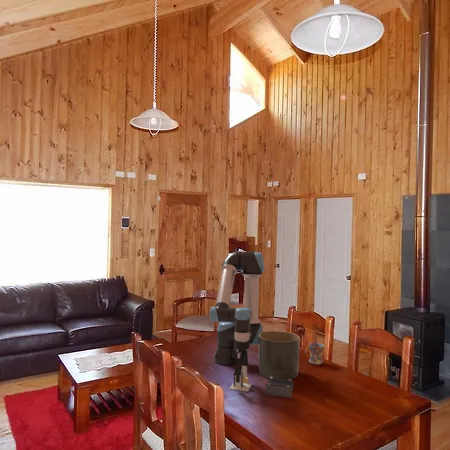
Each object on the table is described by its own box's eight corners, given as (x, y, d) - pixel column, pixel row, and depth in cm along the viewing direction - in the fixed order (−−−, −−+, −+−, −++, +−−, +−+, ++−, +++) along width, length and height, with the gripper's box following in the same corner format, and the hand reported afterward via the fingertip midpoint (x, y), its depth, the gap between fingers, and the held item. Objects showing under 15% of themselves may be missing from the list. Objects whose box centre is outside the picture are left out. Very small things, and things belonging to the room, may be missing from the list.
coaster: (229, 389, 191) (229, 388, 191) (234, 382, 200) (234, 381, 200) (248, 391, 189) (248, 390, 189) (251, 384, 198) (251, 383, 198)
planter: (303, 370, 220) (304, 334, 220) (292, 384, 200) (293, 344, 200) (265, 363, 229) (266, 329, 230) (251, 376, 209) (252, 338, 209)
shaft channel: (265, 394, 186) (265, 383, 186) (268, 386, 196) (269, 376, 196) (290, 398, 183) (291, 387, 183) (293, 389, 193) (293, 379, 193)
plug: (233, 386, 193) (233, 374, 193) (235, 383, 197) (235, 371, 197) (247, 388, 192) (247, 375, 192) (248, 385, 196) (249, 372, 196)
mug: (318, 359, 238) (319, 342, 238) (327, 365, 229) (327, 346, 230) (301, 361, 234) (301, 343, 235) (309, 366, 226) (309, 348, 226)
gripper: (244, 347, 182) (243, 394, 182) (254, 334, 205) (253, 375, 205) (228, 346, 184) (227, 392, 184) (240, 333, 207) (239, 374, 207)
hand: (241, 383), depth 195 cm, fingers open, 12 cm apart
